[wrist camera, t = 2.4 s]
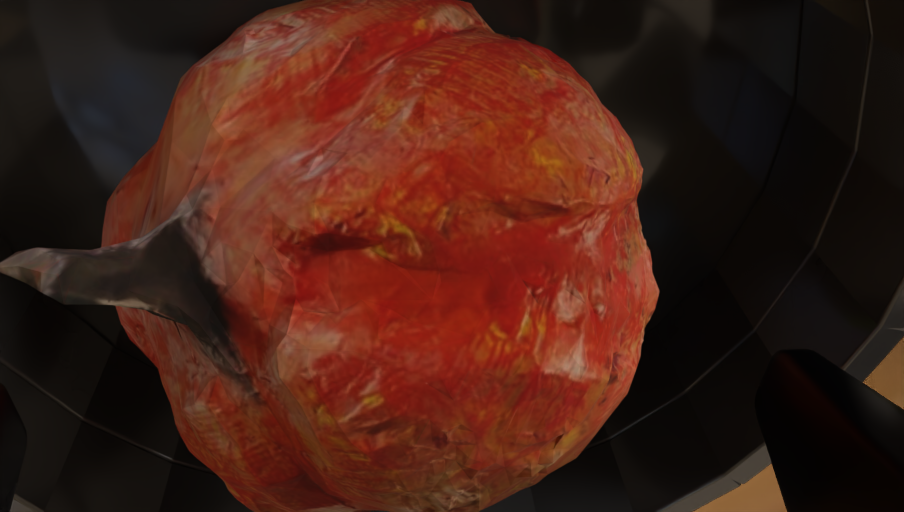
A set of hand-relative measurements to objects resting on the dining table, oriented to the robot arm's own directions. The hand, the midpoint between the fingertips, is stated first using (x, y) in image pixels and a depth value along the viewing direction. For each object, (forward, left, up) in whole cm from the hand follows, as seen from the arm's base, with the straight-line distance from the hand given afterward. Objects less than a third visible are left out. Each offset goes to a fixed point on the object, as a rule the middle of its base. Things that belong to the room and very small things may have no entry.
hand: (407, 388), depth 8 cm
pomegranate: (0, 0, -6) cm, 6 cm away
